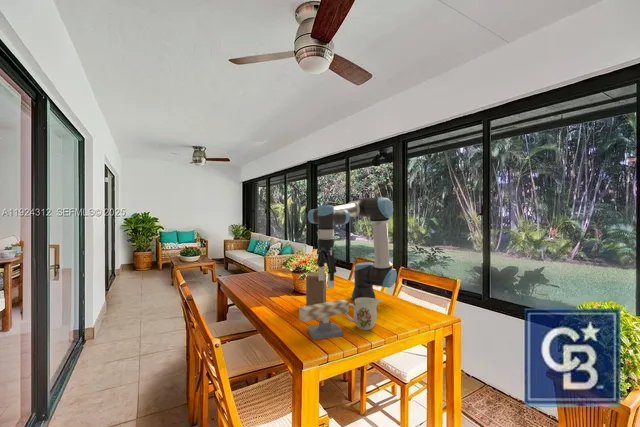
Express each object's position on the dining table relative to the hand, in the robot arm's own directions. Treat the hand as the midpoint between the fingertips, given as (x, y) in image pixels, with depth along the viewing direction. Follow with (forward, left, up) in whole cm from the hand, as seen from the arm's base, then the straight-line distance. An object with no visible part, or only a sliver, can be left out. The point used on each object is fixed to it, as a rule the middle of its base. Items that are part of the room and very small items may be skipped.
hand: (326, 283), depth 137 cm
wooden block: (-5, -32, -23) cm, 40 cm away
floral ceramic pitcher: (-19, 0, -23) cm, 30 cm away
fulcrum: (+1, +1, -23) cm, 23 cm away
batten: (+1, +1, -14) cm, 14 cm away
